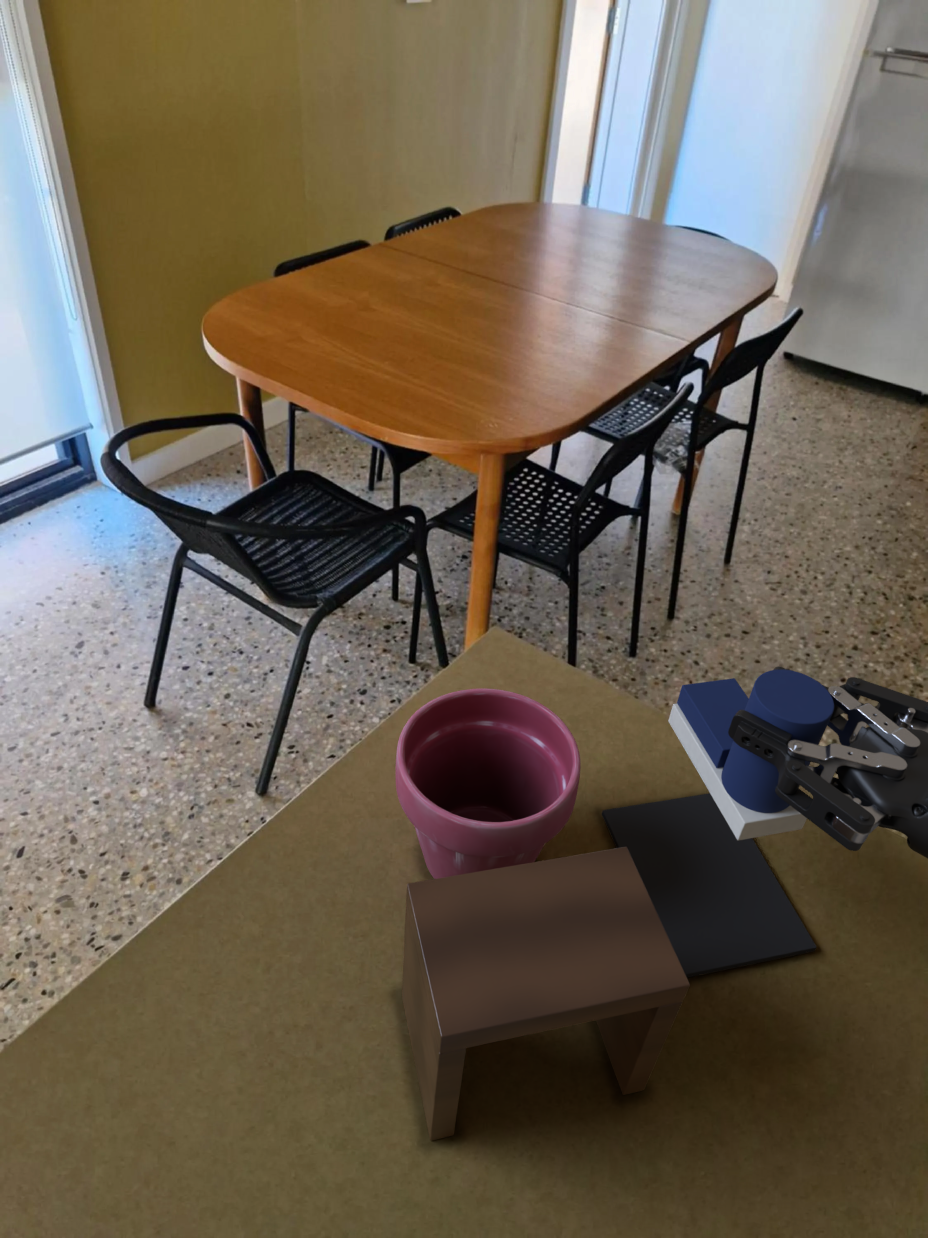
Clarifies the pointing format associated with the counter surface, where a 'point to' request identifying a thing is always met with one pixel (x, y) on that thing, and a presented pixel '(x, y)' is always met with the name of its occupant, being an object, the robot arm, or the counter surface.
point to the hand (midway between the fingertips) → (752, 699)
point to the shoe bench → (535, 967)
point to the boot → (733, 770)
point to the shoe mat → (708, 885)
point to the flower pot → (485, 779)
